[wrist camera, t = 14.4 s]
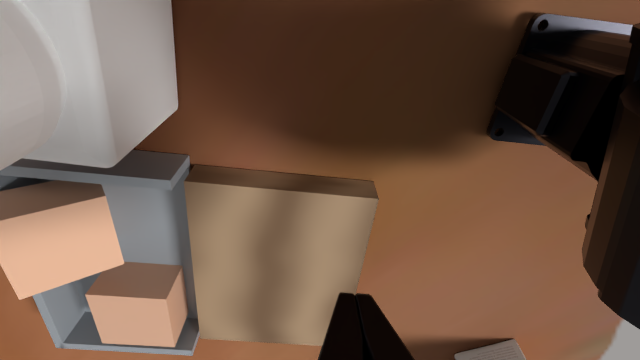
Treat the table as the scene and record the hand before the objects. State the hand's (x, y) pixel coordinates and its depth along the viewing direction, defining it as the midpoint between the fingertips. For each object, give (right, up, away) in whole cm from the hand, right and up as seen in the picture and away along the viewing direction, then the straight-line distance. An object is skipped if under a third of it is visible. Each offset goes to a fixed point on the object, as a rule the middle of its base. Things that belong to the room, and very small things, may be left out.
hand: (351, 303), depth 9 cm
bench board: (-4, -2, +15) cm, 16 cm away
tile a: (-15, 0, +9) cm, 17 cm away
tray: (-14, -1, +14) cm, 20 cm away
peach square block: (-13, -5, +16) cm, 22 cm away
